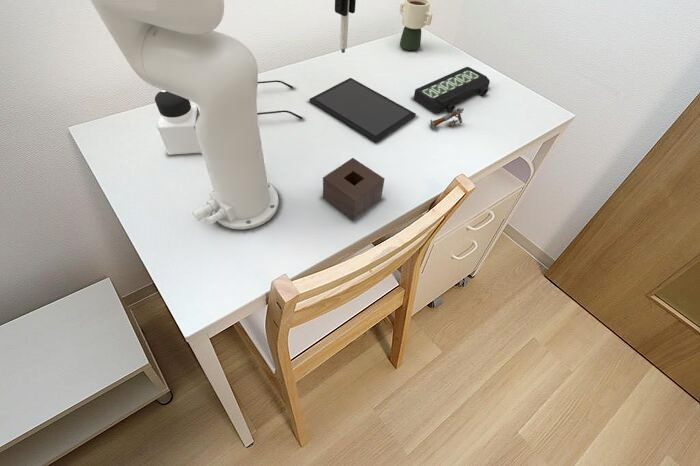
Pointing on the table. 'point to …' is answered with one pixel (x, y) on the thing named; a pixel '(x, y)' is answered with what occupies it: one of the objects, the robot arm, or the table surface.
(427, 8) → the character mug
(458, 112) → the wooden post with brackets
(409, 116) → the tablet
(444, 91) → the digital display
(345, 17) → the stylus
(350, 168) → the block
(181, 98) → the medicine bottle
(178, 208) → the table surface
